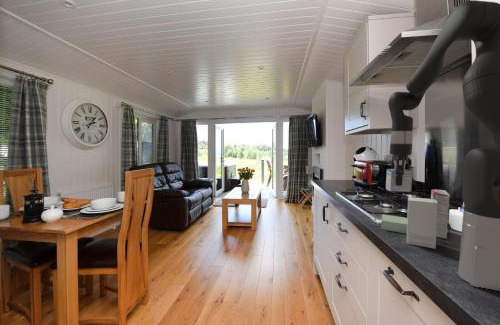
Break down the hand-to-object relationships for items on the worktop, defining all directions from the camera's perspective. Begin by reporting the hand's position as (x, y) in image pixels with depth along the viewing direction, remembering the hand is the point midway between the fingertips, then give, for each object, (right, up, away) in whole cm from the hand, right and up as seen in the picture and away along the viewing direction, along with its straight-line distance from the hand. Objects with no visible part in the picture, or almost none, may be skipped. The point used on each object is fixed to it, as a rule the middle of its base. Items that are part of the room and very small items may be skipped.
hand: (398, 184), depth 97 cm
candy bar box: (+13, -19, -4) cm, 23 cm away
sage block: (0, -18, +2) cm, 19 cm away
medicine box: (0, -3, 0) cm, 3 cm away
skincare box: (-1, -19, -14) cm, 24 cm away
